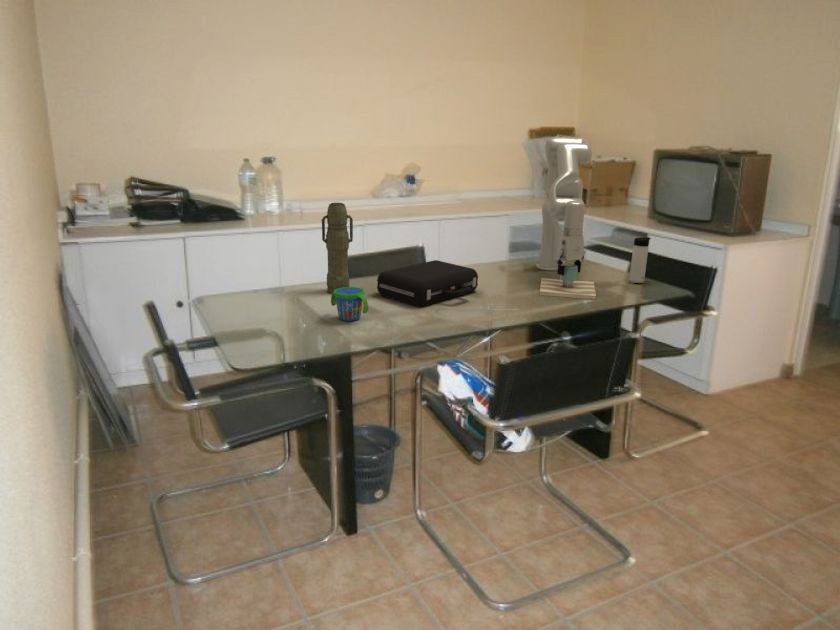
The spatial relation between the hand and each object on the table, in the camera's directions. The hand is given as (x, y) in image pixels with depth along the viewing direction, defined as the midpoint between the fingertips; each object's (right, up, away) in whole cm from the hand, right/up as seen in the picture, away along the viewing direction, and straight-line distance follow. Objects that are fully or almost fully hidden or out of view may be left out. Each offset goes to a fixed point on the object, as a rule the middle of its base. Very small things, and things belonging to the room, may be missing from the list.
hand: (568, 273), depth 270 cm
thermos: (-94, -8, -8) cm, 95 cm away
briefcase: (-56, -10, -9) cm, 58 cm away
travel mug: (+34, -3, +17) cm, 38 cm away
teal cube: (0, -3, +1) cm, 3 cm away
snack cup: (-86, -19, -41) cm, 97 cm away
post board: (0, -7, +2) cm, 7 cm away
